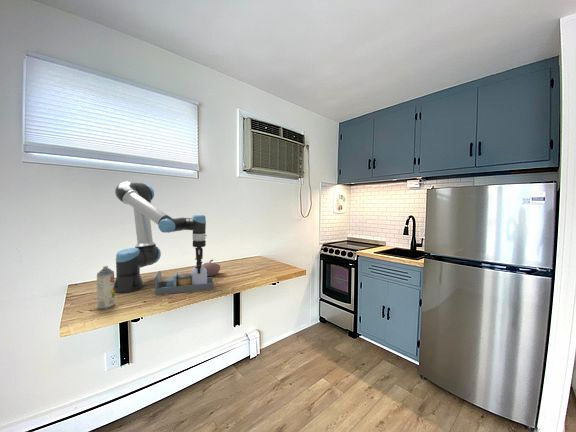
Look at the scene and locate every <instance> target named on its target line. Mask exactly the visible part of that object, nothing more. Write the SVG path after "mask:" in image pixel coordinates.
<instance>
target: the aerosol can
mask: <svg viewBox="0 0 576 432" xmlns="http://www.w3.org/2000/svg"><path fill="white" fill-rule="evenodd" d="M114 282H115V271H114V270H112V269H110V268H109V267H108V265H104V266H103V267H102V268H101V270H100V271H98V272H97V273H96V302H97V303H96V305H97V306H96V307H97V308H98V310H106V308H107V309H110V308H112V306H113V307H114V306H115V304H116V303H115V301H116V299H115V298H116V297H115V296H116V295H115V293H116V292H114Z"/></svg>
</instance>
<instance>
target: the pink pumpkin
mask: <svg viewBox="0 0 576 432" xmlns="http://www.w3.org/2000/svg"><path fill="white" fill-rule="evenodd" d="M213 261H214V259H211V260H209V261H207V262H204V263H203V264H202V266H203V267H205V268H206V269H207V276H209V277H213V276H216V275H218V274H219V272H220V271H221V265H220V264H219V263H216V262H213Z"/></svg>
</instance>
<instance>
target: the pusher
mask: <svg viewBox="0 0 576 432" xmlns="http://www.w3.org/2000/svg"><path fill="white" fill-rule="evenodd" d="M177 275H179V271H175V272H174V275H173V277H168V278H167V280H166V281H167V287H175V286H177Z"/></svg>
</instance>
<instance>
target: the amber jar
mask: <svg viewBox="0 0 576 432" xmlns="http://www.w3.org/2000/svg"><path fill="white" fill-rule="evenodd" d="M191 277H192V276H191V273H179V274H178V275H177V286H186V285H191Z"/></svg>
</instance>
